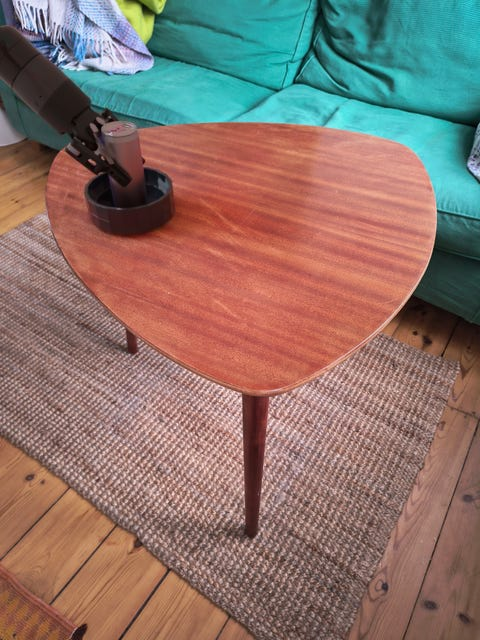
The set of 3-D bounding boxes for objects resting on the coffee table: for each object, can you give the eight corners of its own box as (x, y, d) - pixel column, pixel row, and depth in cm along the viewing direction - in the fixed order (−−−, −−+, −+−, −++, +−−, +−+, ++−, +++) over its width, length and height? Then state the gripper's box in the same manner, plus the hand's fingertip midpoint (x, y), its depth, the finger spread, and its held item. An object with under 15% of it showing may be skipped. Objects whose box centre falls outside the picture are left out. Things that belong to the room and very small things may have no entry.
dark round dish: (88, 241, 79) (80, 212, 75) (93, 195, 90) (87, 168, 86) (177, 233, 81) (175, 205, 77) (172, 190, 92) (170, 163, 88)
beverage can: (109, 210, 85) (92, 127, 74) (135, 198, 88) (122, 117, 77) (129, 223, 82) (114, 139, 71) (155, 210, 85) (145, 127, 75)
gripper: (40, 95, 66) (133, 182, 72) (84, 64, 76) (162, 142, 82) (18, 129, 70) (107, 208, 77) (61, 95, 80) (137, 167, 87)
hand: (135, 173), depth 80 cm, fingers closed on beverage can, 6 cm apart
